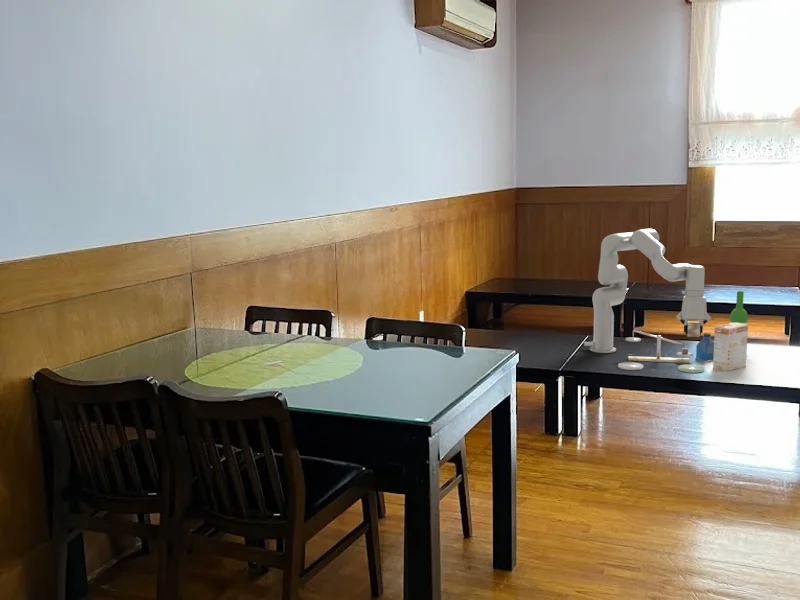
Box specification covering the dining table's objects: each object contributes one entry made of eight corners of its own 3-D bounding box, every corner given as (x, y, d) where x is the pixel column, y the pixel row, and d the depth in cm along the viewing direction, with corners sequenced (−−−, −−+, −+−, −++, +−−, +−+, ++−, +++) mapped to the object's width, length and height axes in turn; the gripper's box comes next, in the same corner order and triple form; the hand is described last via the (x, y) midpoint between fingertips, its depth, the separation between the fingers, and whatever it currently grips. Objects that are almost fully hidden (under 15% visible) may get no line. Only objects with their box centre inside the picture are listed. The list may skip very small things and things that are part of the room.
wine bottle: (742, 351, 391) (746, 290, 386) (748, 354, 383) (751, 292, 378) (726, 351, 392) (729, 290, 387) (731, 354, 384) (734, 292, 379)
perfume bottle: (705, 356, 381) (706, 332, 379) (715, 359, 375) (717, 334, 374) (696, 358, 378) (697, 333, 376) (706, 360, 373) (707, 335, 371)
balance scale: (625, 361, 375) (625, 330, 372) (624, 357, 381) (625, 327, 379) (693, 363, 368) (694, 332, 365) (691, 360, 374) (692, 329, 372)
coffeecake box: (732, 363, 367) (734, 322, 363) (746, 366, 361) (749, 324, 358) (711, 368, 359) (714, 325, 356) (725, 371, 353) (728, 328, 350)
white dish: (618, 369, 359) (618, 367, 359) (617, 363, 370) (617, 361, 370) (643, 370, 357) (644, 368, 356) (642, 364, 367) (642, 362, 367)
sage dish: (679, 372, 353) (679, 370, 353) (677, 366, 364) (677, 364, 363) (705, 373, 350) (705, 371, 350) (702, 367, 361) (702, 365, 361)
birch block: (687, 336, 353) (688, 323, 352) (686, 334, 357) (686, 321, 356) (699, 337, 351) (700, 323, 350) (698, 334, 356) (698, 321, 355)
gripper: (674, 294, 350) (673, 335, 353) (716, 295, 346) (714, 336, 349) (673, 291, 357) (672, 331, 360) (714, 292, 353) (712, 333, 356)
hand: (693, 333), depth 354 cm, fingers closed on birch block, 5 cm apart
